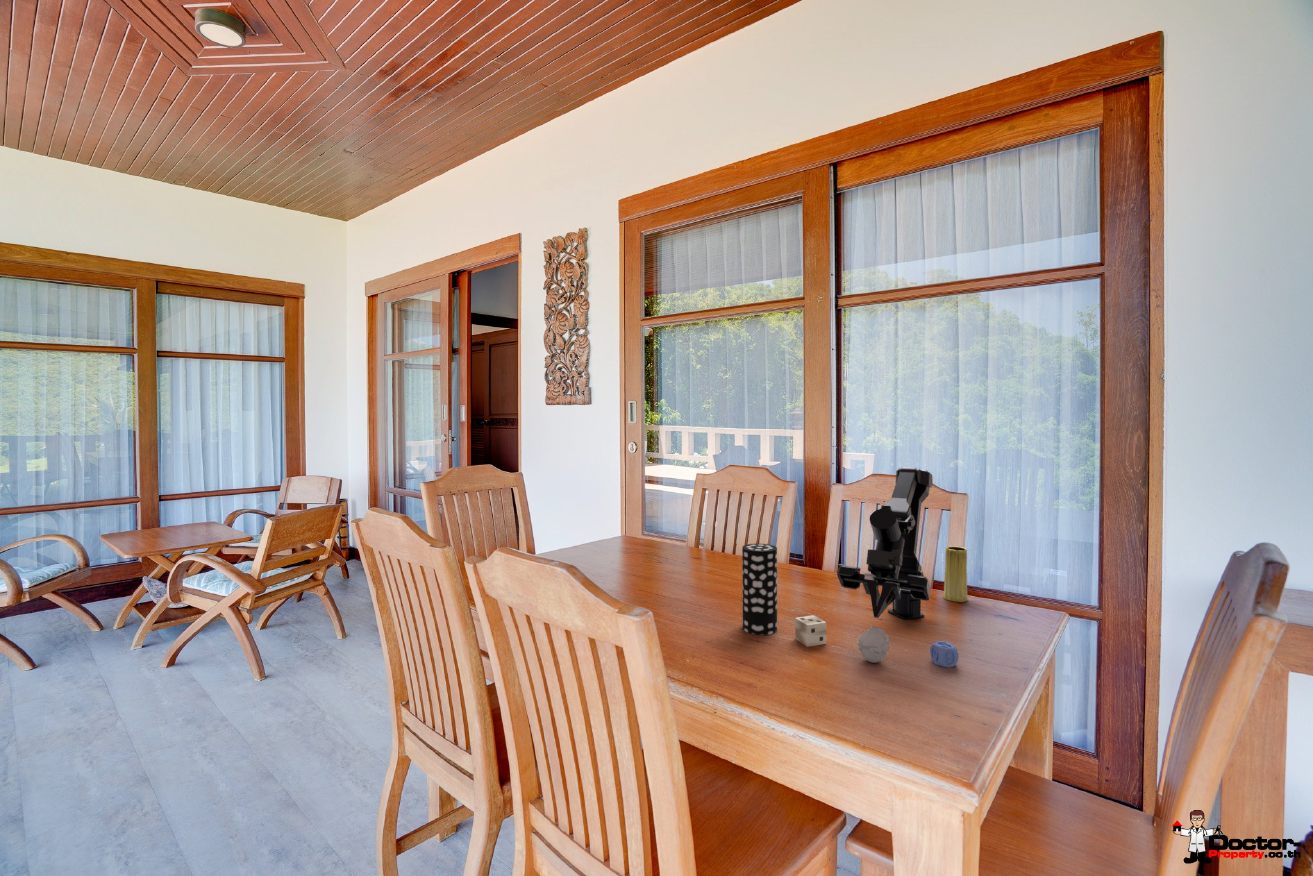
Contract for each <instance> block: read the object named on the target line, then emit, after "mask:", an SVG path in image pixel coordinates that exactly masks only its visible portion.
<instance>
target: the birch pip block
mask: <svg viewBox="0 0 1313 876" xmlns="http://www.w3.org/2000/svg"><path fill="white" fill-rule="evenodd" d="M794 619H795V620H794V621H795V622H794V630H795V631H794V632H795V633H794V635H795V636H794V638H795V640H796V641H798V642H800V643H801V644H802V645H804V646H805V647H807V648H808V647H809V648H810V647H815V646H820V645H826V644H827V621H824V620H823V619H821V618H819V617H818V616H816V615H814V614H813V615H812V614H811V615H806V616H805V615H804V616H800V617H795V618H794Z"/></svg>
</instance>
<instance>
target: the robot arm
mask: <svg viewBox="0 0 1313 876" xmlns="http://www.w3.org/2000/svg"><path fill="white" fill-rule="evenodd" d="M933 479H934V478H933V474H932V473H931V472H929V471H928V470H927V469H920V468H917V467H907V466H906V467H905V466H903V467H899V468H897V470H896V473H895V485H894V489H893V492H892V494H891V498H890V500H888V501H885V503H883V504H882V505H881V508H878V509H876V510H874V511H873V512H872V513H871V514H870V515H869V522H870V523H869V524H870V527H871V530H872V533H873V537H874V539H875V540H876V545H875V549H870V548H869V549H867V553H866V555H867V556H866V561H865V563H866V565H867V572H864V574H863V573H860V572H859V568H858V567H857V566H850V565H845V564H844V565H840V566H839V567H838V569H837V573H836V576H837V578H838V581H839V584H840V586H841V587H843V588H845V589H850V590H857V589H859V588H860V587H861V584H862V586H863V588H864V591H865V594H866V595H868V596H870V601H871V607H872V613H873V614H872V615H873V618H875V619H879V618H880V617H881V615H882V614H883V613H884V612H885V610H886V609H887V608H888V607H889V606H890V605H891V604H892V608H889V609H887V612H888V613H890V614H891V615H894V616H897V617H898V618H901V619H903V620H910V619H917V618H923V617H925V613H922V611H921V606H922V603H921V601H927V602H928V601H929V600H930V597H931V596H930V595H931V587H930V582H929V579H928V578H927V577H926V576H925V575H924V572H923V570H922V569H923V568H922V565H921V564H920V561H919V560H918V559H919V558H917V551H918V550H917V549H918V541H919V533H920V532H919V530H920V522H921V521H920V519H921V511H922V503H924V501H925V500H926V499H927V498H928V497H929V495H930V488H932V487H933V484H934V483H933V482H934V481H933ZM868 572H870V573H868ZM879 587H881V593H880V590H879Z"/></svg>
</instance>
